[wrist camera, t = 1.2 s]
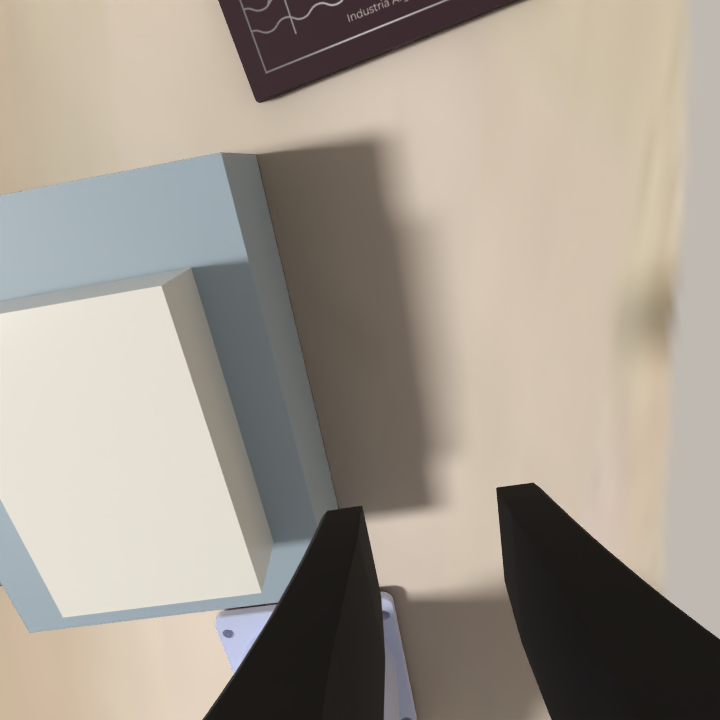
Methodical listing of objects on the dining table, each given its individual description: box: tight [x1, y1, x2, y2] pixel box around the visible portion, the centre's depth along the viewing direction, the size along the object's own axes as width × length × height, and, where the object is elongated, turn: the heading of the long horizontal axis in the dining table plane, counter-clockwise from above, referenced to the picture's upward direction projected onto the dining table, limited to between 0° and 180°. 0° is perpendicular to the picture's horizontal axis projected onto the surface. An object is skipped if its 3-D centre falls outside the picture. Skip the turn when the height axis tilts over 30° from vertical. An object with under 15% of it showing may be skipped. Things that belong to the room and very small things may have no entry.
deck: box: [0, 153, 338, 633], centre depth 17 cm, size 14×11×4 cm
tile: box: [0, 268, 274, 618], centre depth 14 cm, size 9×6×2 cm, turn 10°
